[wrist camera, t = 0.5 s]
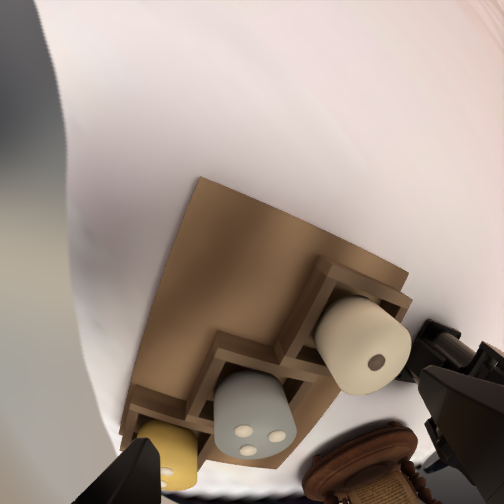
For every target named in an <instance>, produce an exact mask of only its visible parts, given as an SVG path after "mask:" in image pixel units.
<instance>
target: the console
mask: <svg viewBox="0 0 504 504" xmlns="http://www.w3.org/2000/svg"><path fill="white" fill-rule="evenodd" d="M408 274H409V273H408V272H407V271H405V270H403V269H401V268H399V267H397V266H395V265H393V264H391V263H389V262H387V261H385V260H384V259H382V258H380V257H378V256H376V255H374V254H372V253H370V252H368V251H366V250H364V249H362V248H360V247H358V246H356V245H354V244H352V243H349V242H347V241H345V240H343V239H341V238H339V237H337V236H335V235H333V234H331V233H329V232H327V231H325V230H322V229H320V228H318V227H316V226H314V225H312V224H310V223H307V222H305V221H303V220H301V219H299V218H296V217H294V216H292V215H290V214H288V213H285V212H283V211H281V210H279V209H276V208H274V207H272V206H270V205H267V204H265V203H263V202H260V201H258V200H256V199H254V198H251V197H249V196H247V195H244V194H242V193H239V192H237V191H235V190H232V189H230V188H228V187H225V186H223V185H220V184H218V183H215V182H213V181H210V180H208V179H205V178H203V177H200V179H199V181H198V183H197V186H196V188H195V190H194V193H193V195H192V198H191V200H190V203H189V205H188V208H187V210H186V213H185V215H184V218H183V220H182V223H181V226H180V228H179V231H178V233H177V236H176V239H175V241H174V244H173V247H172V250H171V252H170V255H169V258H168V261H167V263H166V266H165V269H164V272H163V275H162V278H161V281H160V284H159V287H158V290H157V293H156V296H155V299H154V302H153V305H152V308H151V312H150V315H149V318H148V321H147V325H146V328H145V331H144V335H143V338H142V341H141V345H140V348H139V352H138V356H137V359H136V363H135V367H134V371H133V374H132V378H131V382H130V386H129V390H128V394H127V399H126V403H125V407H124V412H123V416H122V421H121V425H120V430H119V434H120V435H122V436H123V437H122V441H121V446H120V451H122V452H123V451H124V450H125V449H126V448H127V447H128V446H129V445H130V444H131V442H132V441H133V440H134V439H135V438H137V435H138V430H139V428H140V426H141V425H142V424H143V423H145V422H147V421H150V420H162V421H165V422H168V423H171V424H175V425H178V426H182V427H186V428H189V429H191V430H192V431H193V432H194V433H195V435H196V436H197V439H198V451H197V472H198V471H199V469H200V468H201V466H202V465H203V463H204V462H205V460H206V459H207V460H212V461H217V462H223V463H228V464H235V465H242V466H249V467H258V468H268V469H277V468H278V467H279V466H280V465H281V464H282V463H283V462H284V461H285V460H286V458H287V457H288V456H289V455H290V454H291V453H292V452H293V451H294V449H295V448H296V447H297V446H298V445H299V444H300V443H301V441H302V440H303V439H304V438H305V437H306V435H307V434H308V433H309V432H310V431H311V429H312V428H313V427H314V426H315V424H316V423H317V422H318V421H319V419H320V418H321V417H322V415H323V414H324V413H325V412H326V410H327V409H328V408H329V406H330V405H331V404H332V402H333V401H334V399H335V398H336V397H337V395H338V394H339V392H340V391H341V389H340V387H339V386H338V384H337V383H336V381H335V379H334V377H333V376H332V374H331V372H330V371H329V369H328V367H327V366H326V364H325V362H324V360H323V359H322V357H321V355H320V354H319V352H318V350H317V349H316V347H315V344H314V340H313V332H314V327H315V324H316V322H317V320H318V318H319V316H320V315H321V313H322V312H323V311H324V310H325V309H326V308H327V307H328V306H329V305H330V304H331V303H333V302H334V301H336V300H338V299H339V298H342V297H344V296H348V295H362V296H365V297H367V298H369V299H371V300H372V301H373V302H374V303H376V304H377V305H378V306H379V307H381V308H382V309H383V310H384V311H385V312H387V313H388V314H389V315H390V316H392V317H393V318H394V319H395V320H396V321H398V322H399V323H401V321H402V319H403V317H404V316H405V314H406V312H407V310H408V308H409V306H410V304H411V302H412V299H411V298H409V297H408V296H406V295H405V294H403V293H402V292H400V291H401V289H402V287H403V285H404V283H405V281H406V279H407V276H408ZM242 370H260V371H264V372H268V373H270V374H272V375H274V376H275V377H276V378H278V380H279V381H280V382H281V384H282V386H283V389H284V392H285V395H286V398H287V401H288V404H289V407H290V410H291V413H292V416H293V419H294V422H295V425H296V429H297V434H296V437H295V439H294V441H293V442H292V443H291V444H290V446H288V447H287V448H286V449H285V450H283V451H281V452H280V453H278V454H275V455H273V456H270V457H266V458H261V459H251V460H249V459H239V458H234V457H231V456H229V455H227V454H225V453H223V452H222V451H221V450H219V449H218V447H217V446H216V444H215V438H214V390H215V388H216V386H217V384H218V383H219V382H220V381H221V380H222V379H223V378H225V377H226V376H228V375H230V374H232V373H235V372H238V371H242Z"/></svg>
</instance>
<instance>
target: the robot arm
mask: <svg viewBox="0 0 504 504" xmlns="http://www.w3.org/2000/svg"><path fill="white" fill-rule="evenodd" d="M460 337H461V332H459V331H458V330H455V329H453V328H450V327H448V326H446V325H443V324H441V323H438V322H436V321H434V320H431V319H429V320H427V321H426V322H425V324H424V326H423V328H422V329H421V331H420V333H419V335H418V336H417V338H416V340H415V341H414V343H413V345H412V347H411V351H410V355H409V358H408V360H407V362H406V364H405V366H404V367H403V369H402V370H401V372H400V373H399V374H398V375H397V376H396V377H395V379H396V380H399V381H405V382H412V383H417V384H418V390H419V393H420V395H421V397H422V399H423V401H424V403H425V405H426V407H427V408H428V410H429V412H430V414H431V418H430V419H428V420H427V421H426V422H425V423H424V425H425V427H426V429H427V432H428V434H429V436H430V438H431V440H432V442H433V445H434V447H435V449H436V451H437V453H438V456H439V458H440V459H441V460H442V461H443V462H444V463H447V464H448V465H449V466H451V467H454V468H457V469H458V470H459V471H460V472H462V473H463V474H464V475H465V477H466V478H467V479H468V480H469V482H470V483H471V484H472V485H474V486H476V487H477V489H478V491H479V492H480V494H481V496H482V497H483V499H484V500H485V501H486V504H504V352H502V351H501V350H499V349H497V348H495V347H493V346H492V345H490V344H488V343H486V342H484V341H482V342H481V344H480V345H479V349H478V350H477V352H474V351H473V350H472V349H470V348H469V347H468V346H466V345H465V344H464V343H462V342H461V341H460V340H459V339H460ZM497 362H498V363H497ZM496 363H497V364H496ZM495 365H496V366H495ZM71 504H161V467H160V454H159V452H158V450H157V449H156V447H155V446H154V444H153V443H152V442H151V440H150V439H149V438H147V437H138V438H135V439H134V440H133V441H132V442H131V444H130V445H129V446H128V447H127V448H126V449H125V450H124V451H123V452H122V453H121V454H120V455H119V456H118V457H117V458H116V459H115V460H114V462H112V463H111V464H110V466H108V467H107V469H105V471H104V472H103V473H102V474H101V475H100V476H99V477H98V478H97V479H96V480H95V481H94V482H93V483H92V484H91V485H90V486H89V487H88V488H87V489H86V490H85V491H84V492H82V493H81V495H79V496H78V498H76V500H75V501H73V502H72V503H71Z"/></svg>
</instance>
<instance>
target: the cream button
mask: <svg viewBox="0 0 504 504" xmlns="http://www.w3.org/2000/svg"><path fill="white" fill-rule="evenodd" d="M313 340H314V344H315V347H316V349H317V350H318V352H319V354H320V355H321V357H322V359H323V360H324V362H325V364H326V366H327V367H328V369H329V371H330V372H331V374H332V376H333V377H334V379H335V381H336V383H337V384H338V386H339V387H340V389H341V390H342V391H344V392H345V393H348V394H351V395H365V394H369V393H372V392H375V391H377V390H379V389H381V388H383V387H384V386H386V385H387V384H388V383H390V382H391V381H392V380H393V379H394V378H395V377H396V376H397V375H398V374H399V373H400V372H401V370H402V369H403V367H404V366H405V364H406V362H407V360H408V358H409V355H410V351H411V337H410V334H409V332H408V330H407V329H406V328H405V327H404V326H402V325H401V324H400V323H399V322H398V321H396V320H395V319H394V318H393V317H392V316H390V315H389V314H388V313H387V312H385V311H384V310H383V309H382V308H381V307H379V306H378V305H377V304H376V303H374V302H373V301H372V300H371V299H369V298H367V297H365V296H362V295H348V296H344V297H342V298H339V299H338V300H336V301H334V302H333V303H331V304H330V305H329V306H328V307H327V308H326V309H325V310H324V311H323V312H322V313H321V315H320V316H319V318H318V320H317V322H316V324H315V327H314V332H313Z"/></svg>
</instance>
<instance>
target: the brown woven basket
mask: <svg viewBox="0 0 504 504" xmlns="http://www.w3.org/2000/svg"><path fill="white" fill-rule="evenodd" d="M417 444H418V439H417V437H416V435H415V434H414V432H413V431H412V430H411V429H410V428H408V427H404V426H401V425H400V424H398V423H396V422H392V423H391V427H388V428H383V429H380V430H377V431H374V432H371V433H368V434H366V435H363V436H361V437H359V438H356V439H354V440H352V441H350V442H348V443H346V444H344V445H343V446H341V447H339V448H337V449H336V450H334V451H332V452H331V453H329V454H328V455H326V456H325V457H323V458H321V457H320V456H319V455H315V456H314V457H313V466H312V467H311V468H310V469H309V470H308V472H307V473H306V474H305V476H304V478H303V480H302V488H303V490H304V494H305V495H306V496H307V497H308V498H310V499H312V500H316V501H324V504H339V501H342V503H343V504H348V502H347V500H346V499H348V501H349V504H420V503H419V501H418V498H419V499H420V500H422V501H423V502H424V503H425V504H442V502H440V501H436V499H432V497H431V491H430V489H429V488H425V486H426V480H425V478H423V477H418V475H419V472H417V473H415V468H414V463H413V462H412V461H409V460H410V458H411V457H412V455H413V454H414V452H415V450H416V447H417ZM400 470H401V472H402V473H401V472H399V471H400ZM403 473H404V474H403ZM406 475H407V476H408V477H409V478H408V477H407V476H406ZM416 492H418V497H417V493H416Z"/></svg>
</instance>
